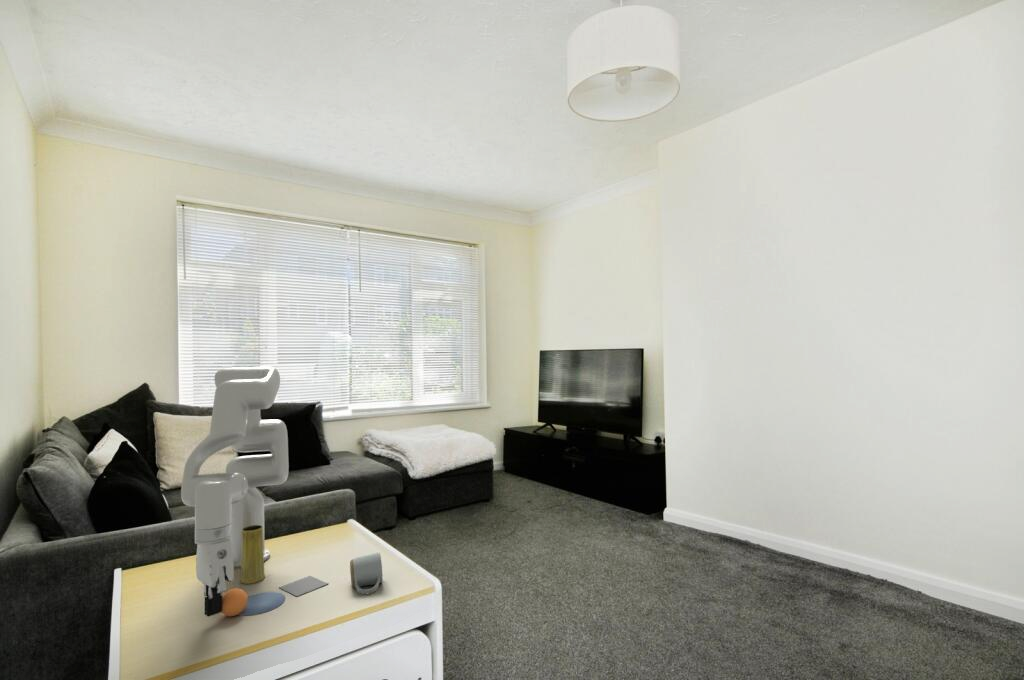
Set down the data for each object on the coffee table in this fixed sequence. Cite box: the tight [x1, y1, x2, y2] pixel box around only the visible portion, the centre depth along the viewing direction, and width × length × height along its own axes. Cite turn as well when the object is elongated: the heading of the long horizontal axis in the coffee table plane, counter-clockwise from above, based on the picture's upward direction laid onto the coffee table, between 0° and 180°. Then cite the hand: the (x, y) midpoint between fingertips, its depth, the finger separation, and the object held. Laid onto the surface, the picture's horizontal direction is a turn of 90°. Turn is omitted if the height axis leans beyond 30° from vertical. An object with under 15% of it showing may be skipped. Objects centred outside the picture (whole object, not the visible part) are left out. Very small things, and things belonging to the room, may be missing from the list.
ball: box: [221, 587, 248, 617], centre depth 125 cm, size 6×6×6 cm
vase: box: [239, 525, 266, 585], centre depth 145 cm, size 6×6×14 cm
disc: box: [237, 591, 286, 617], centre depth 130 cm, size 12×12×1 cm
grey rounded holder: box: [349, 552, 384, 595], centre depth 139 cm, size 11×8×8 cm
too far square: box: [278, 575, 329, 598], centre depth 140 cm, size 9×9×1 cm
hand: (213, 613), depth 121 cm, fingers closed
